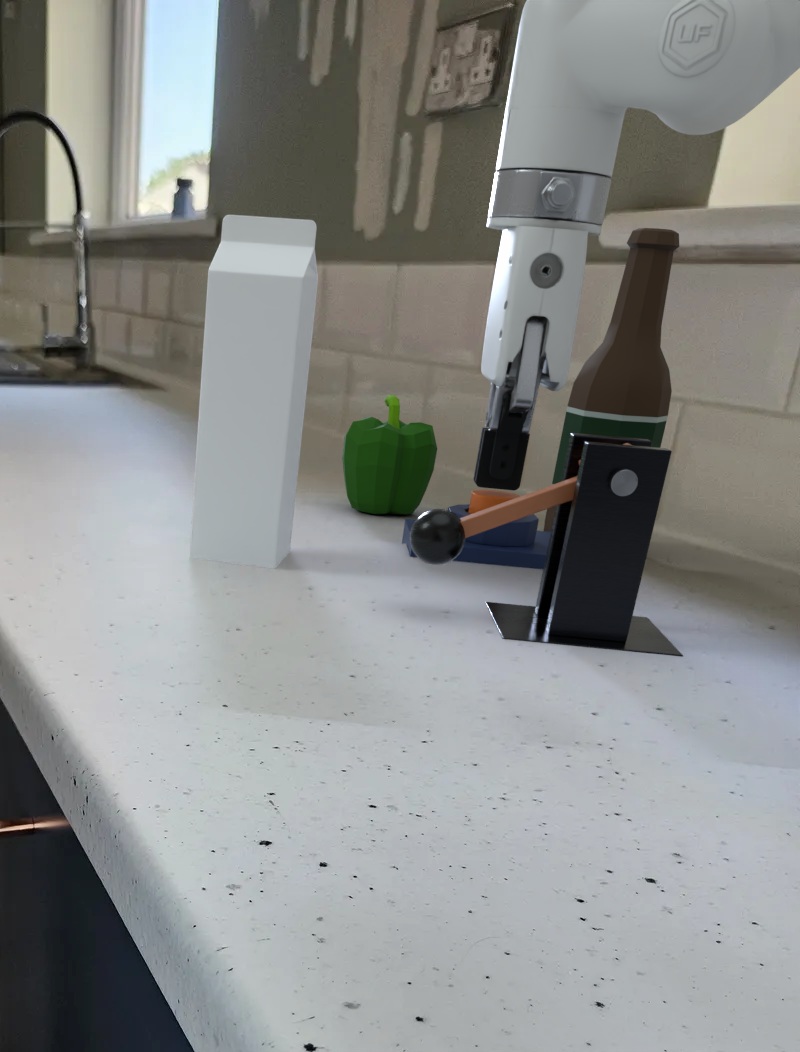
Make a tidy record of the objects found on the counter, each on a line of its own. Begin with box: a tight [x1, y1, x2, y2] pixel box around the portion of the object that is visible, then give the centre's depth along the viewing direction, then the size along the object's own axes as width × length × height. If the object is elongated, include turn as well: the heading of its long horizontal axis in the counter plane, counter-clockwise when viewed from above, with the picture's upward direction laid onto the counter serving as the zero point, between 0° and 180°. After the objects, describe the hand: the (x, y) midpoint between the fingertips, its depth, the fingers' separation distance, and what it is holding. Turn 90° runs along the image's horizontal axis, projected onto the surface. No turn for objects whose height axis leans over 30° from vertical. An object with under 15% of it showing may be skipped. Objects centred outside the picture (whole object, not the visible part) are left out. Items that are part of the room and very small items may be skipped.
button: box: [468, 489, 521, 514], centre depth 84 cm, size 4×4×2 cm
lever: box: [410, 443, 631, 566], centre depth 64 cm, size 13×3×3 cm, turn 84°
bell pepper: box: [341, 394, 438, 516], centre depth 101 cm, size 8×8×10 cm
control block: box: [401, 503, 551, 570], centre depth 85 cm, size 12×9×4 cm
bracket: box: [485, 433, 684, 658], centre depth 65 cm, size 10×8×12 cm
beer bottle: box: [543, 227, 680, 532], centre depth 90 cm, size 8×8×24 cm
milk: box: [188, 214, 319, 570], centre depth 74 cm, size 6×6×22 cm
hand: (495, 486), depth 83 cm, fingers closed
